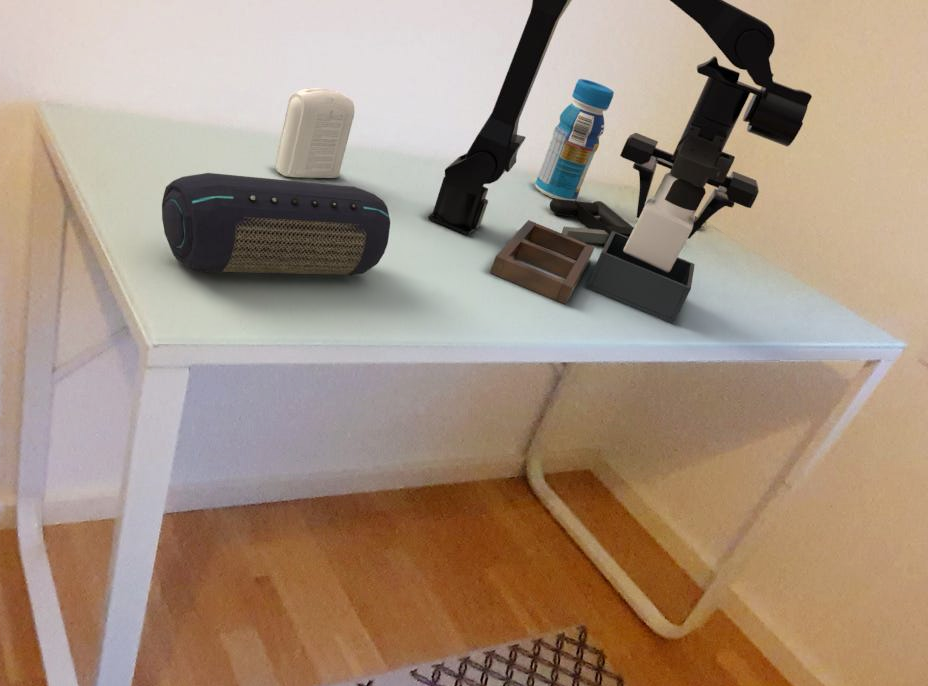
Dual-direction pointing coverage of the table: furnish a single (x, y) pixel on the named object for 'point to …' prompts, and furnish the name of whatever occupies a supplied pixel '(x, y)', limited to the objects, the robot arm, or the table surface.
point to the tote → (641, 281)
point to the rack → (543, 261)
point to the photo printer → (315, 134)
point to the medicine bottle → (665, 223)
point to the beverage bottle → (574, 141)
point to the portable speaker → (273, 225)
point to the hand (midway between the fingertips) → (662, 227)
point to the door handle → (591, 220)
